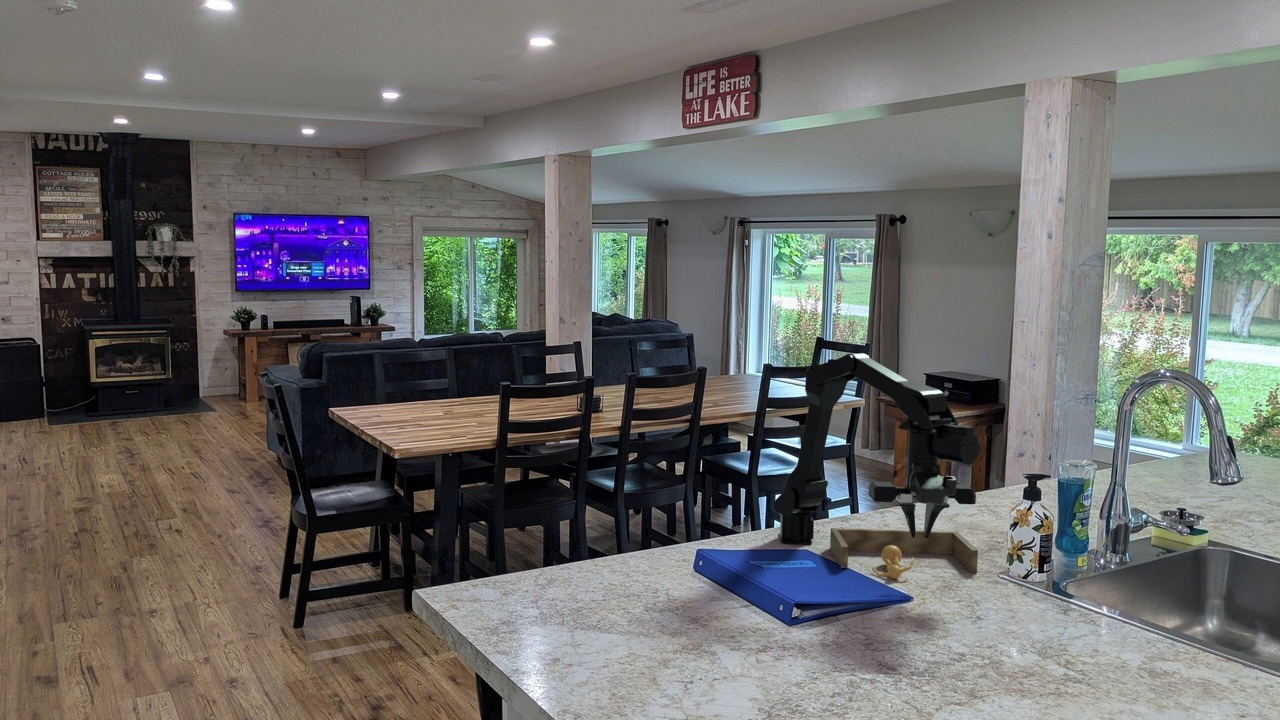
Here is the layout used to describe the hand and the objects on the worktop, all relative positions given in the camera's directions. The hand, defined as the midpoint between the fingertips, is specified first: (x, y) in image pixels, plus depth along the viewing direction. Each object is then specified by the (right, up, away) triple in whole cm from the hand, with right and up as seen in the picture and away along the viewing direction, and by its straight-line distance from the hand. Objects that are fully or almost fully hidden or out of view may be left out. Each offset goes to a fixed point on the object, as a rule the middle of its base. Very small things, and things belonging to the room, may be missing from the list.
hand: (919, 537), depth 182 cm
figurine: (-2, -7, +13) cm, 14 cm away
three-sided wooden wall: (0, -7, +14) cm, 16 cm away
